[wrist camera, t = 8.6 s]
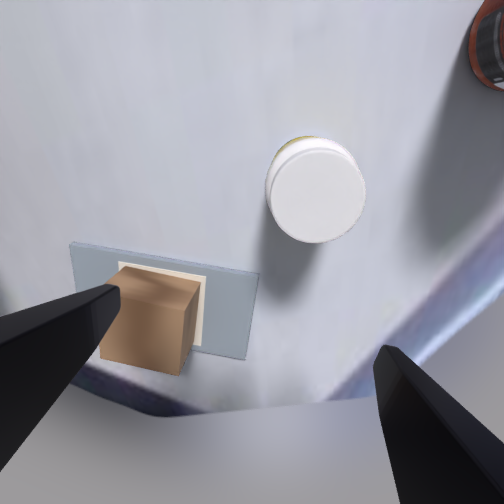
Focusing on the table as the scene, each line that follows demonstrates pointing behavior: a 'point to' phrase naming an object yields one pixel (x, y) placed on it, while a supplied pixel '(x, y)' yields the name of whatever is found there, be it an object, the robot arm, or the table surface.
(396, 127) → the table surface
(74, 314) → the robot arm
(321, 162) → the supplement bottle
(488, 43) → the supplement bottle
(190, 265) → the board
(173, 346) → the block
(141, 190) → the table surface
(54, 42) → the table surface
